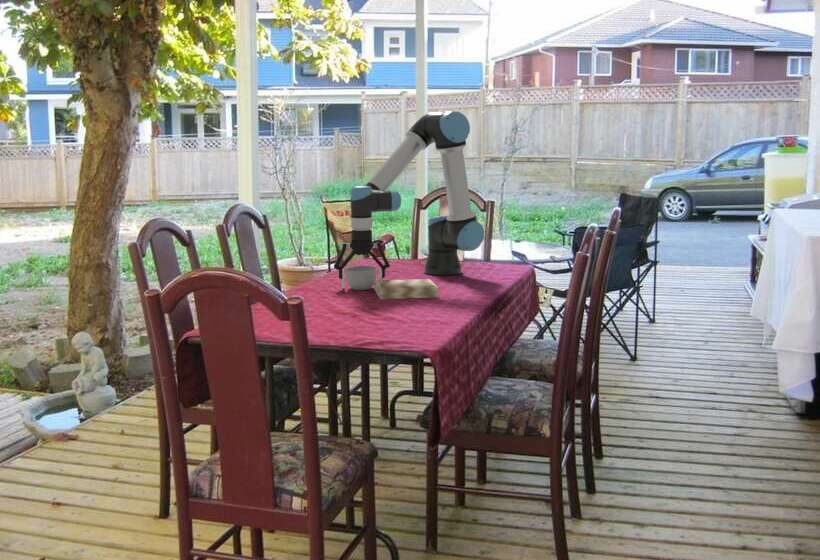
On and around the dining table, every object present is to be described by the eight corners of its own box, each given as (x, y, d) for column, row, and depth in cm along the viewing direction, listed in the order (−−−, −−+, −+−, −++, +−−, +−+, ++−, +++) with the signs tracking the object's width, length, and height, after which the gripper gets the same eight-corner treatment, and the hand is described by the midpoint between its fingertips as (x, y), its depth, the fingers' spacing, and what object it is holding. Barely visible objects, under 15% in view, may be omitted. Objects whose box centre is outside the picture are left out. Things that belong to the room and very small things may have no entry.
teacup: (371, 292, 313) (371, 269, 312) (342, 291, 316) (342, 269, 314) (381, 285, 327) (380, 264, 326) (352, 284, 329) (352, 263, 328)
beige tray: (429, 288, 320) (429, 278, 319) (438, 297, 302) (438, 286, 302) (374, 290, 317) (374, 280, 316) (380, 299, 299) (380, 288, 299)
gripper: (394, 227, 323) (394, 284, 327) (326, 228, 320) (327, 286, 323) (397, 229, 316) (397, 288, 319) (327, 230, 312) (328, 289, 316)
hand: (362, 287), depth 321 cm, fingers open, 13 cm apart
